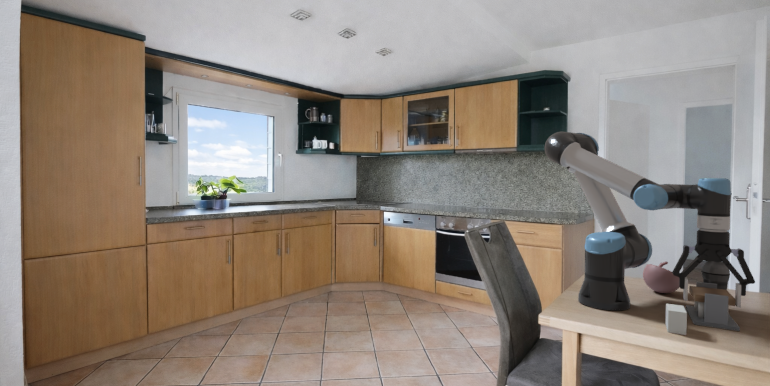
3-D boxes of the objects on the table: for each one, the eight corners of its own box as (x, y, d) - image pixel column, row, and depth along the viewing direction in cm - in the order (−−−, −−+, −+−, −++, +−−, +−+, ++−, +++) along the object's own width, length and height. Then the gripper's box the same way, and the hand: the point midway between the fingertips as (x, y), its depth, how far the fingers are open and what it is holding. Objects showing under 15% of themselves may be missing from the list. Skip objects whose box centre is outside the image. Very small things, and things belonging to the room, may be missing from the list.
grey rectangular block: (667, 332, 108) (668, 310, 108) (665, 324, 114) (665, 303, 114) (686, 335, 106) (686, 312, 106) (682, 326, 112) (683, 305, 112)
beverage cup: (734, 312, 124) (736, 248, 124) (708, 311, 126) (710, 248, 125) (720, 305, 132) (722, 245, 131) (695, 304, 133) (697, 244, 132)
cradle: (693, 324, 114) (694, 293, 114) (685, 307, 129) (686, 280, 129) (739, 331, 109) (740, 298, 109) (725, 313, 124) (726, 284, 124)
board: (694, 301, 116) (695, 294, 116) (689, 292, 126) (689, 285, 126) (735, 306, 112) (735, 299, 112) (726, 296, 121) (726, 289, 121)
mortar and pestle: (690, 296, 142) (691, 264, 142) (663, 298, 139) (664, 265, 139) (660, 287, 154) (661, 257, 153) (634, 289, 151) (635, 259, 151)
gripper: (665, 228, 121) (663, 299, 122) (771, 234, 109) (769, 313, 110) (662, 226, 127) (661, 293, 128) (763, 231, 115) (760, 306, 116)
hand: (710, 303), depth 119 cm, fingers open, 11 cm apart
